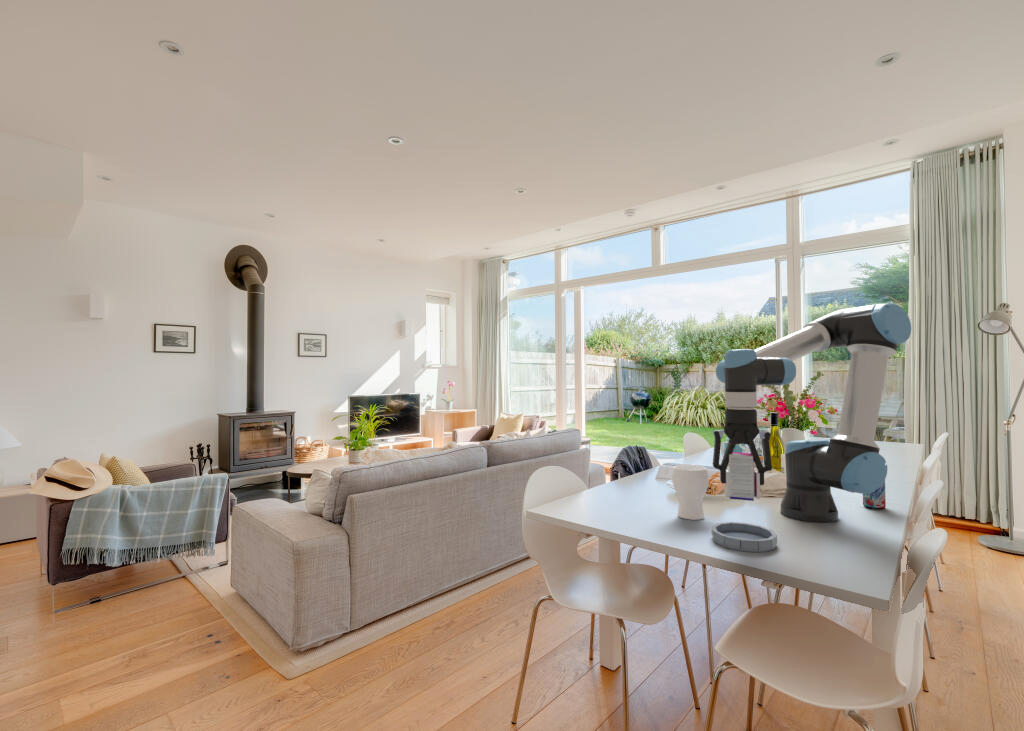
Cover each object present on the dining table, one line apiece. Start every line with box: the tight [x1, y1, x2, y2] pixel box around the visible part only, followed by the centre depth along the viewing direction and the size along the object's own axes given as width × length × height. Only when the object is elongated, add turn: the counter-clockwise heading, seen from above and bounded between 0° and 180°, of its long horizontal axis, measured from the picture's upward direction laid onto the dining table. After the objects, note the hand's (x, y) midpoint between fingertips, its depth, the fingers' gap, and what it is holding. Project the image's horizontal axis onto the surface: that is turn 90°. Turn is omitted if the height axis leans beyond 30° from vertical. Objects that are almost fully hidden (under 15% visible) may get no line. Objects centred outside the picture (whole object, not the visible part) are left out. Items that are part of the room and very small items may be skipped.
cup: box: [671, 464, 710, 521], centre depth 150 cm, size 11×11×15 cm
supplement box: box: [728, 451, 755, 502], centre depth 127 cm, size 6×6×12 cm
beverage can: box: [862, 480, 887, 511], centre depth 158 cm, size 6×6×15 cm
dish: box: [711, 521, 778, 553], centre depth 127 cm, size 15×15×3 cm
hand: (742, 496), depth 127 cm, fingers closed on supplement box, 6 cm apart
